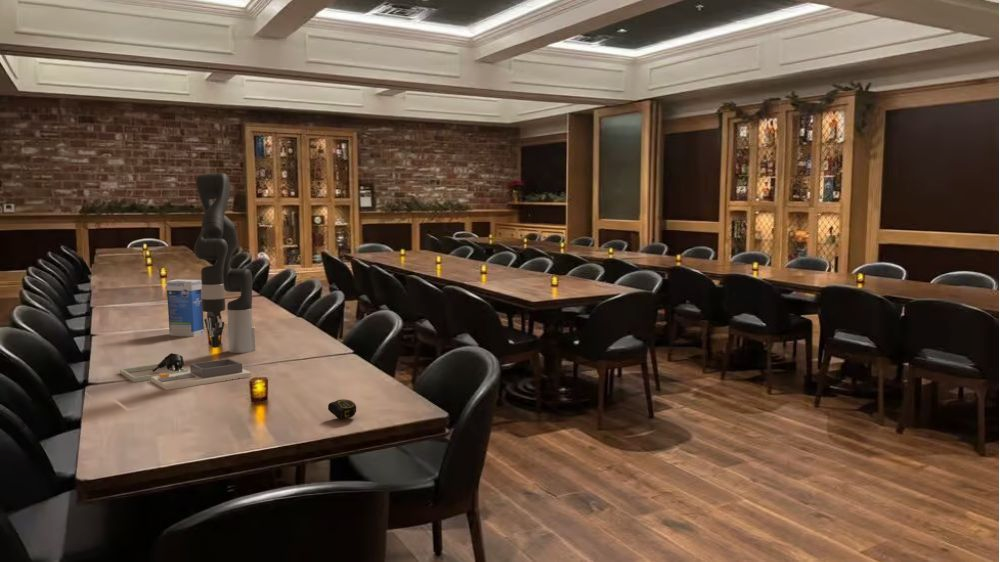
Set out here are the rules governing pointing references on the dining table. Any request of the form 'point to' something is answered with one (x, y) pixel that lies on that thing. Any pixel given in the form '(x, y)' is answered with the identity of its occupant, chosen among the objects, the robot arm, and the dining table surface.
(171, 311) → the string lights box
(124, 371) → the pick tray
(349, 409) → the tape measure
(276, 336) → the dining table surface
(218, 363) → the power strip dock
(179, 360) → the power plug
